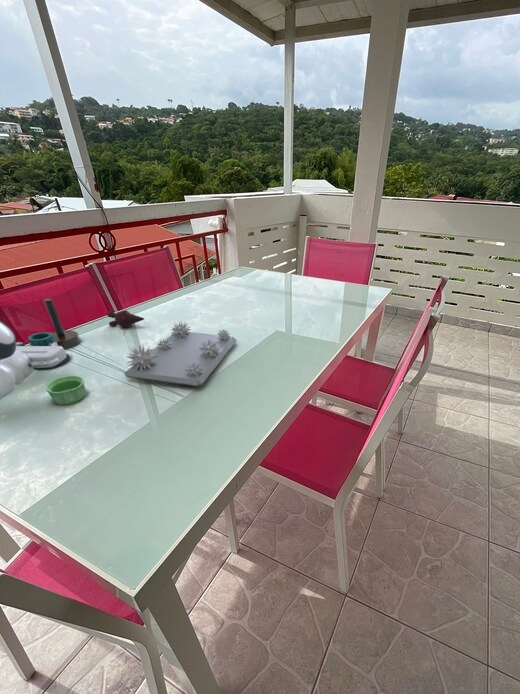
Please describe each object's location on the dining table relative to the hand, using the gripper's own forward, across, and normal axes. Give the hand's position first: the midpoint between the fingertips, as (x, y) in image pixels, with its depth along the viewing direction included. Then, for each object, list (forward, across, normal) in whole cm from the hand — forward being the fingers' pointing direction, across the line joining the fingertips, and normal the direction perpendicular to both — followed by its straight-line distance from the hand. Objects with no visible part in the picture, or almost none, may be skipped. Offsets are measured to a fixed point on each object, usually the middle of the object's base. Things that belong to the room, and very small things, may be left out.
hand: (38, 344), depth 102 cm
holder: (+16, +2, +7) cm, 18 cm away
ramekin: (-19, -15, +8) cm, 25 cm away
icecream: (+32, -15, +8) cm, 36 cm away
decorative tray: (+3, -43, +8) cm, 44 cm away
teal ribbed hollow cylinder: (+2, 0, +7) cm, 7 cm away
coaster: (+2, 0, +7) cm, 8 cm away
